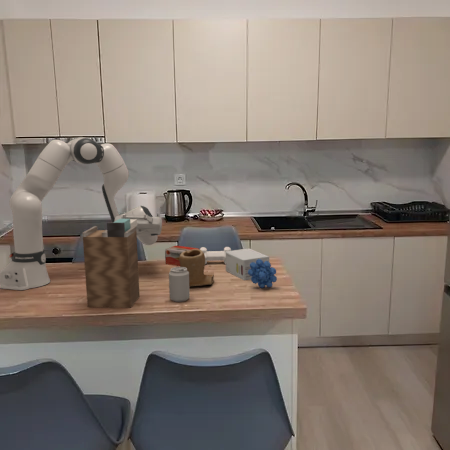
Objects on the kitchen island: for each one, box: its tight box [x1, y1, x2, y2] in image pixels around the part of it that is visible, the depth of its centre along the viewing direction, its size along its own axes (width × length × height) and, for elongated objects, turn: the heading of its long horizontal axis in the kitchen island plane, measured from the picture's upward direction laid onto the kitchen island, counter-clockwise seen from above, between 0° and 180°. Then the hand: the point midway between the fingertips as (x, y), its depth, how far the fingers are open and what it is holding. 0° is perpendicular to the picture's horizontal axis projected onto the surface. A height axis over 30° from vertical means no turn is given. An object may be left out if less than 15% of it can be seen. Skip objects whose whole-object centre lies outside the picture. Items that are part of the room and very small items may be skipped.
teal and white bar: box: [113, 219, 137, 232], centre depth 175 cm, size 4×20×4 cm, turn 175°
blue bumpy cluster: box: [248, 259, 278, 289], centre depth 187 cm, size 12×7×12 cm, turn 85°
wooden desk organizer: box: [82, 222, 140, 309], centre depth 173 cm, size 16×12×31 cm
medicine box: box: [164, 245, 200, 267], centre depth 225 cm, size 15×8×8 cm, turn 59°
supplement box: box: [225, 247, 270, 281], centre depth 209 cm, size 17×13×9 cm
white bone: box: [199, 246, 232, 265], centre depth 226 cm, size 15×9×8 cm, turn 91°
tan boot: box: [179, 248, 215, 287], centre depth 192 cm, size 15×12×15 cm
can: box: [168, 266, 191, 303], centre depth 176 cm, size 8×8×12 cm
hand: (134, 216), depth 194 cm, fingers open, 8 cm apart
